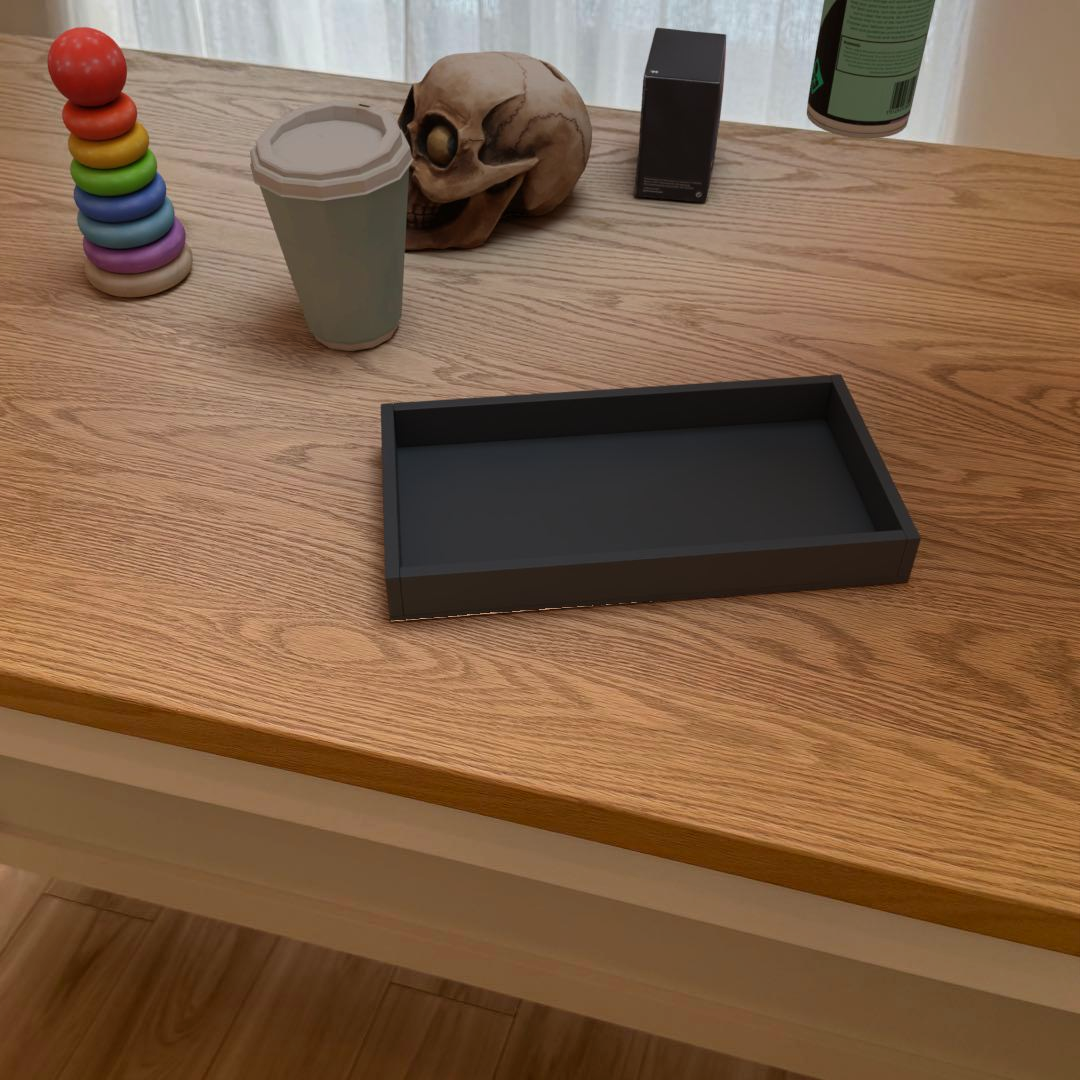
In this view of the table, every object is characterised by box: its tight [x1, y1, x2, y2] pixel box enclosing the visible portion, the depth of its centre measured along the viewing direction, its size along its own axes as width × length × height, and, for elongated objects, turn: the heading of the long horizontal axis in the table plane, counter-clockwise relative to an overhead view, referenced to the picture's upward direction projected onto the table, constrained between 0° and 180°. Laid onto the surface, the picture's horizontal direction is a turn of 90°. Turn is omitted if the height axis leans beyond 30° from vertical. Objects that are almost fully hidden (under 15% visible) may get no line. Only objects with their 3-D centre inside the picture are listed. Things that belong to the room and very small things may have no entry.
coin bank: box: [396, 51, 593, 251], centre depth 99 cm, size 16×17×13 cm
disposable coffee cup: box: [249, 99, 413, 352], centre depth 85 cm, size 11×11×15 cm
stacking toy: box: [46, 26, 194, 298], centre depth 89 cm, size 8×8×19 cm
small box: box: [633, 27, 727, 203], centre depth 104 cm, size 11×6×10 cm, turn 171°
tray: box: [380, 373, 922, 622], centre depth 74 cm, size 30×16×4 cm, turn 96°
